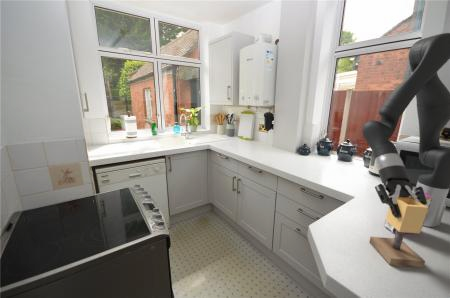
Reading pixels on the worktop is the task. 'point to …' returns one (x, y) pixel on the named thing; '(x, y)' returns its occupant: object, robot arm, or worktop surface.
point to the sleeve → (408, 215)
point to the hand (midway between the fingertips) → (409, 218)
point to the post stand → (396, 251)
